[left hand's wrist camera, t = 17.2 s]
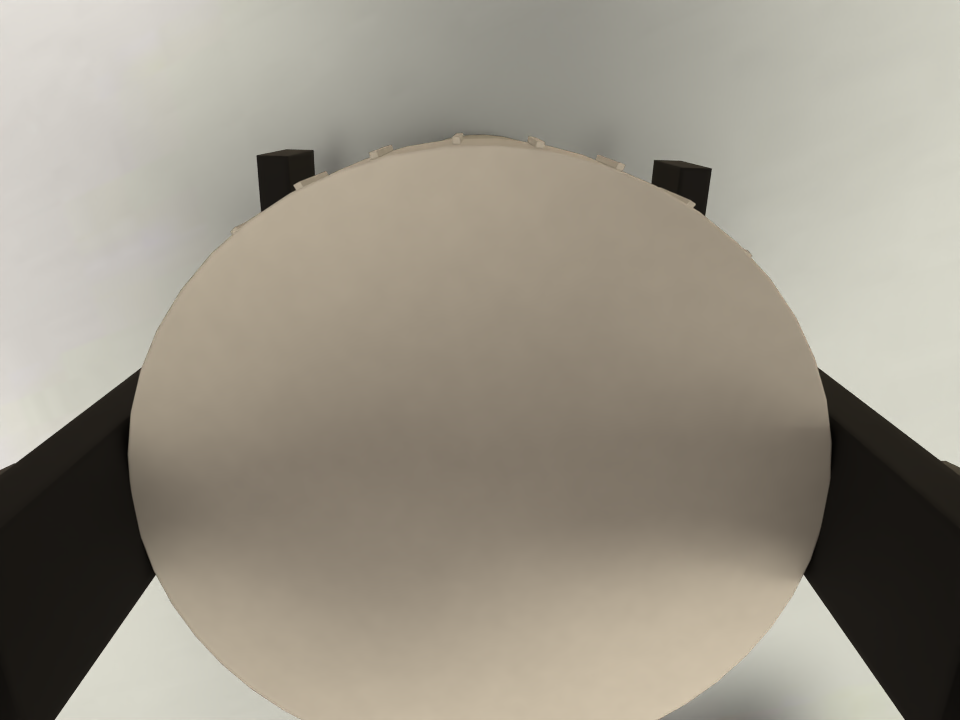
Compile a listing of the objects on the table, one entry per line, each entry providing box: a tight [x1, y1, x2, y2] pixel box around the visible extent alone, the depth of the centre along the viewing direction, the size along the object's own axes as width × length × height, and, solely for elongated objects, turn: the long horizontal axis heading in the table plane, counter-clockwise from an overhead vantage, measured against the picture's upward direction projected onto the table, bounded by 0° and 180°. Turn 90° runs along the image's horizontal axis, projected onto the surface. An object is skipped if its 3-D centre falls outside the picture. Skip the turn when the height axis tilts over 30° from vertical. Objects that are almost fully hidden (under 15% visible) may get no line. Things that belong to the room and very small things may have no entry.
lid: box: [128, 133, 832, 720], centre depth 11 cm, size 10×10×2 cm
